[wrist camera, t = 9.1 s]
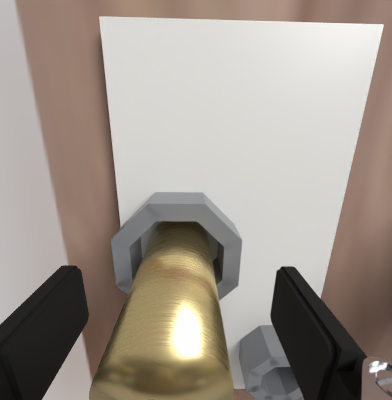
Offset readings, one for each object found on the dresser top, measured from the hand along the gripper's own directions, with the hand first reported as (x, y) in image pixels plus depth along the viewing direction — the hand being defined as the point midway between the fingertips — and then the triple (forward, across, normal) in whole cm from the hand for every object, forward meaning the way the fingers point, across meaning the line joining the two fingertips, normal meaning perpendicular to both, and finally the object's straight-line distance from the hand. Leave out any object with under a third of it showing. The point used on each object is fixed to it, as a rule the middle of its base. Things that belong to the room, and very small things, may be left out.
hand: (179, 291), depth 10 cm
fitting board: (+6, -3, +1) cm, 7 cm away
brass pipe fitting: (+5, 0, 0) cm, 5 cm away
